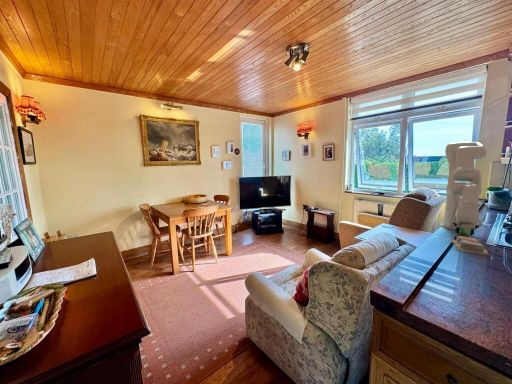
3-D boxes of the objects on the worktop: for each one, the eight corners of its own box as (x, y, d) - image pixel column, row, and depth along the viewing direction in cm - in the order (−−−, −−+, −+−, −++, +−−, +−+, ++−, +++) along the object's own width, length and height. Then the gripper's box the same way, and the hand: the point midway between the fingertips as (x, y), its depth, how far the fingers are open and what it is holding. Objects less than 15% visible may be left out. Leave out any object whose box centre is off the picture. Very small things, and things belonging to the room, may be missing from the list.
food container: (473, 242, 128) (476, 226, 127) (459, 240, 132) (461, 224, 130) (469, 236, 138) (472, 220, 137) (456, 234, 142) (458, 219, 140)
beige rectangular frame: (451, 240, 131) (452, 234, 131) (479, 244, 125) (480, 238, 124) (457, 250, 118) (458, 242, 118) (488, 255, 112) (490, 247, 111)
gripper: (486, 205, 131) (481, 235, 134) (448, 202, 140) (444, 230, 143) (491, 208, 124) (485, 239, 127) (451, 204, 133) (446, 233, 136)
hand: (464, 234), depth 135 cm, fingers closed on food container, 5 cm apart
